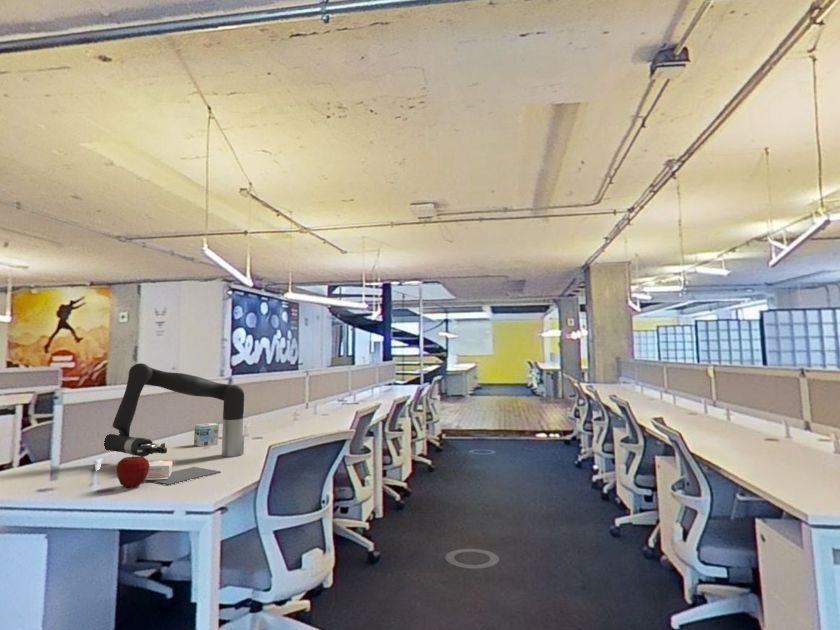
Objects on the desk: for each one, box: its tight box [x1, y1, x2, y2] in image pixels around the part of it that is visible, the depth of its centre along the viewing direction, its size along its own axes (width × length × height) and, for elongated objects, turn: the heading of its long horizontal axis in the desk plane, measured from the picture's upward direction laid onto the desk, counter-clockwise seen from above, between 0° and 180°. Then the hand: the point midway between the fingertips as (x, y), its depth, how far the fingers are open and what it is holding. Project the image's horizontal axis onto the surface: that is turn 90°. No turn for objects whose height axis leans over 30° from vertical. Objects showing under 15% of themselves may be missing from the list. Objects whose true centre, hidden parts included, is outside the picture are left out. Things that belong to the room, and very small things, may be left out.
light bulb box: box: [193, 422, 220, 447], centre depth 281 cm, size 11×7×11 cm, turn 137°
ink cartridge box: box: [145, 459, 174, 480], centre depth 210 cm, size 9×5×15 cm
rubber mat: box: [145, 466, 222, 486], centre depth 212 cm, size 24×16×1 cm, turn 152°
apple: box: [115, 455, 150, 489], centre depth 196 cm, size 11×11×12 cm
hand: (165, 450), depth 218 cm, fingers closed
